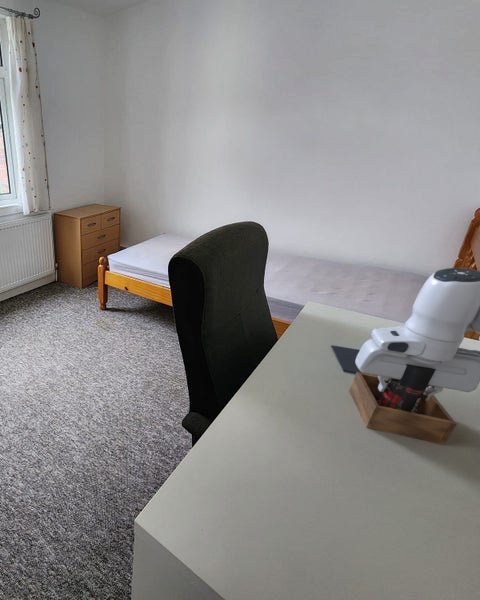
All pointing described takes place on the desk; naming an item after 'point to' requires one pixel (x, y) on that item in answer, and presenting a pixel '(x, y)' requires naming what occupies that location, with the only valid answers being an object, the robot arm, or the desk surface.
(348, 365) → the desk mat
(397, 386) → the deodorant
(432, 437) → the wooden box
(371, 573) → the desk surface
